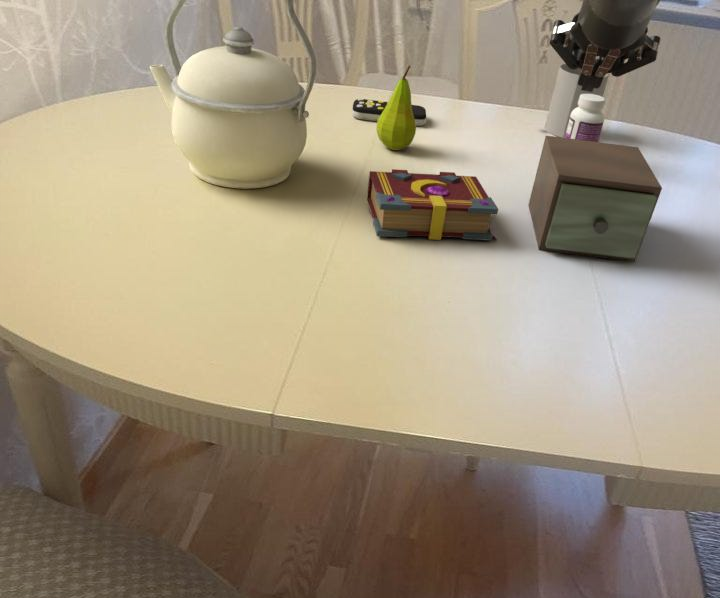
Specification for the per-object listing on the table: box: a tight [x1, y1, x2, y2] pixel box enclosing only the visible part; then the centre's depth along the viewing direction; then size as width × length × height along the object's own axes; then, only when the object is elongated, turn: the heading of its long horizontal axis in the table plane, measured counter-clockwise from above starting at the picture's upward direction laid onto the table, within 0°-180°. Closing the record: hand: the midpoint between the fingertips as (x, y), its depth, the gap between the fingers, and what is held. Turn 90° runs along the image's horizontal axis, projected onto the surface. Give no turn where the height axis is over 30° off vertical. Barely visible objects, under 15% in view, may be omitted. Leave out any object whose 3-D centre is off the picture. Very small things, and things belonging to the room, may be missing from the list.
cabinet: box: [528, 135, 663, 263], centre depth 99 cm, size 15×13×10 cm
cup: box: [544, 63, 610, 138], centre depth 132 cm, size 8×8×10 cm
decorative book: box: [366, 169, 499, 241], centre depth 99 cm, size 11×16×5 cm
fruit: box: [376, 65, 417, 151], centre depth 116 cm, size 6×6×12 cm
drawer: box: [545, 182, 657, 259], centre depth 98 cm, size 15×11×8 cm
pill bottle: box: [565, 94, 606, 142], centre depth 121 cm, size 5×5×10 cm
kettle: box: [149, 0, 318, 190], centre depth 99 cm, size 25×18×25 cm
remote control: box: [351, 97, 427, 127], centre depth 131 cm, size 6×13×2 cm, turn 88°
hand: (587, 84), depth 96 cm, fingers closed
